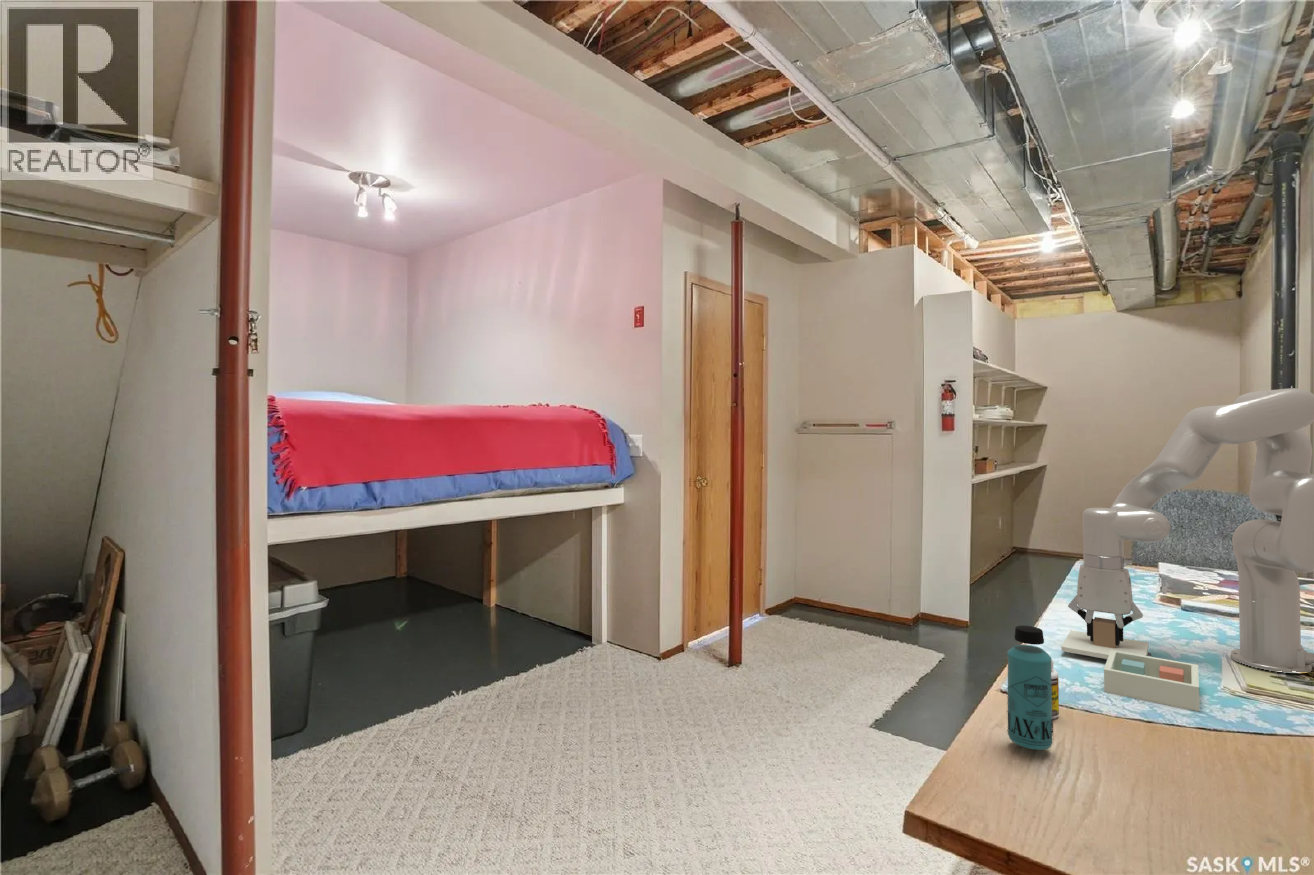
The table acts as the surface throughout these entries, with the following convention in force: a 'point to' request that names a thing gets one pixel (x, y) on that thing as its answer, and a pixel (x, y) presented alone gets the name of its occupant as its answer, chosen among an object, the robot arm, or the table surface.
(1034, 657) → the beverage bottle
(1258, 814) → the table surface
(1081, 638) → the lid
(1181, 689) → the box
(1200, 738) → the table surface
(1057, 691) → the supplement bottle
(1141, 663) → the teal block
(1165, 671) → the red block
